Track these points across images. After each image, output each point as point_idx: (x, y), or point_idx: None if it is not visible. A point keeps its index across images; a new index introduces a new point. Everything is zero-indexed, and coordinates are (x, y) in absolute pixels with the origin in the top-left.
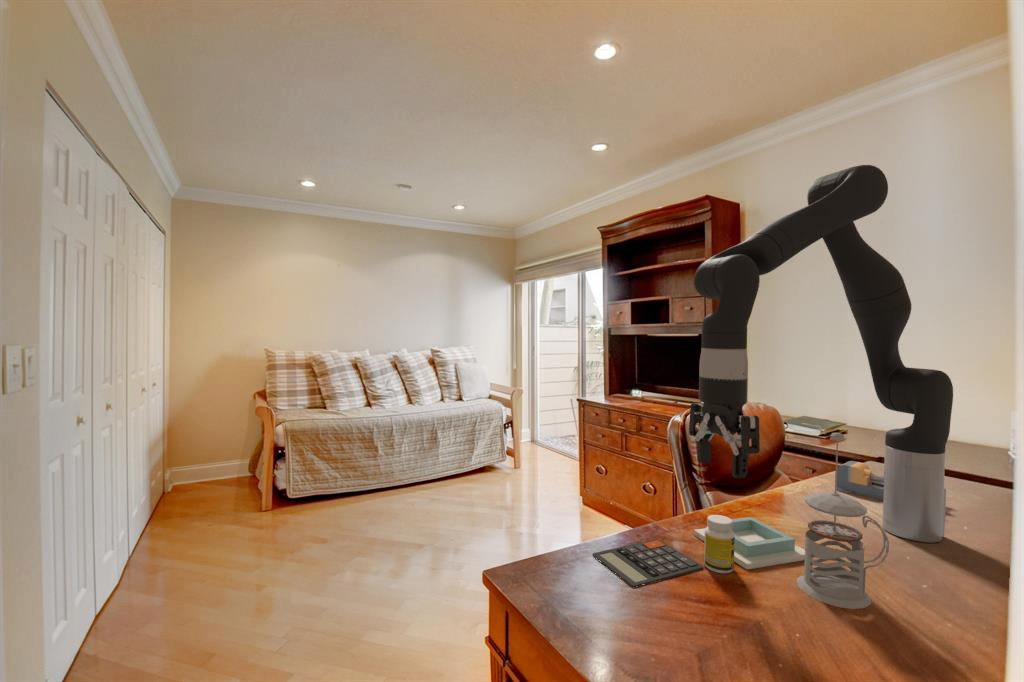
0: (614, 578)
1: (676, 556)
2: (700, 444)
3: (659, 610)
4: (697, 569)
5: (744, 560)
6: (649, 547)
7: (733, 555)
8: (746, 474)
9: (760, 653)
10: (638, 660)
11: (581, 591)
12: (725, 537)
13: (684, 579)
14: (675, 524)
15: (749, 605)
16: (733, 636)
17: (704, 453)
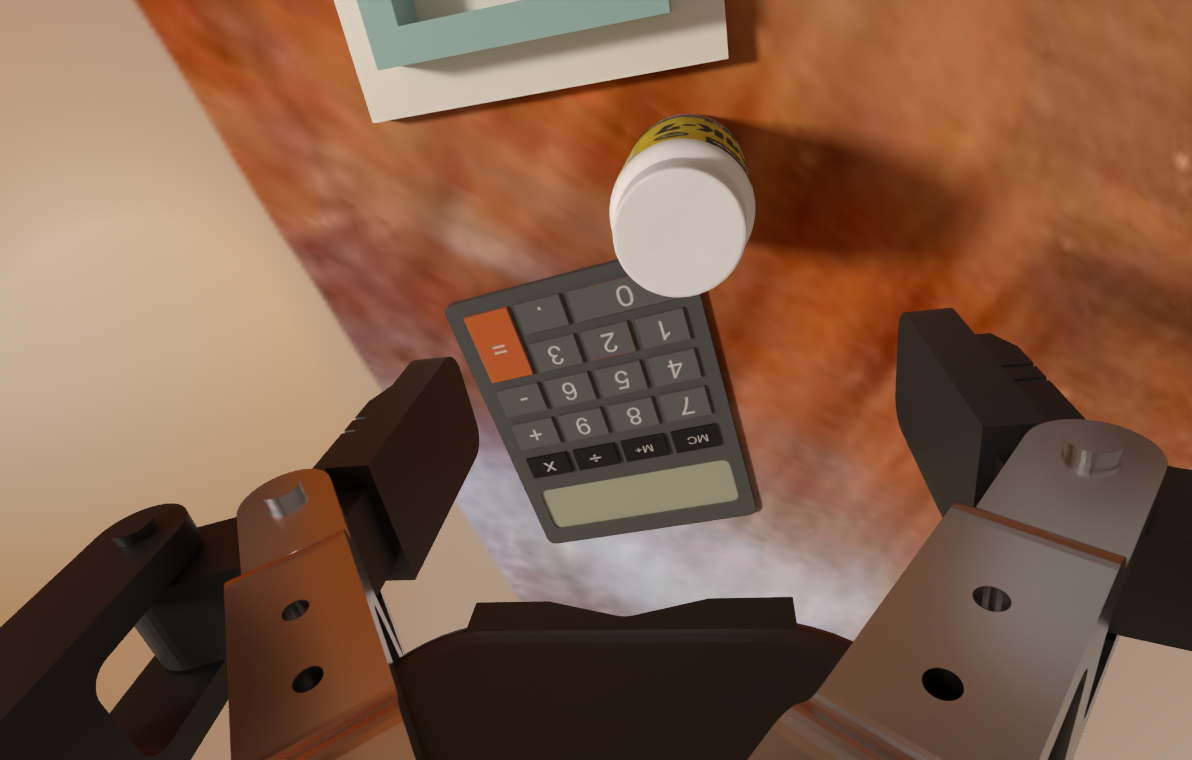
0: (695, 532)
1: (602, 313)
2: (417, 568)
3: (885, 493)
4: None
5: (697, 49)
6: (524, 373)
7: (737, 149)
8: (995, 341)
9: (1183, 344)
10: None
11: None
12: (752, 227)
13: (744, 348)
14: (276, 151)
15: (963, 219)
16: (1080, 371)
17: (443, 464)
